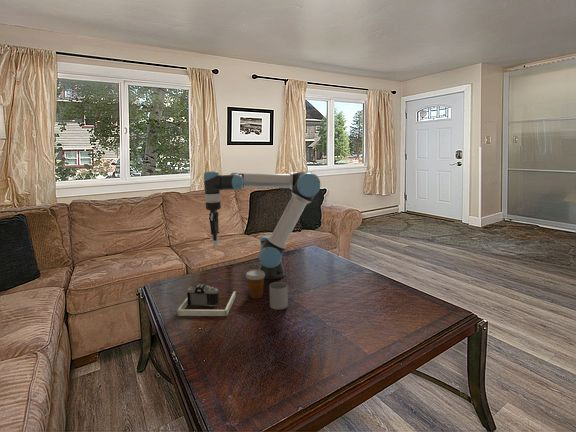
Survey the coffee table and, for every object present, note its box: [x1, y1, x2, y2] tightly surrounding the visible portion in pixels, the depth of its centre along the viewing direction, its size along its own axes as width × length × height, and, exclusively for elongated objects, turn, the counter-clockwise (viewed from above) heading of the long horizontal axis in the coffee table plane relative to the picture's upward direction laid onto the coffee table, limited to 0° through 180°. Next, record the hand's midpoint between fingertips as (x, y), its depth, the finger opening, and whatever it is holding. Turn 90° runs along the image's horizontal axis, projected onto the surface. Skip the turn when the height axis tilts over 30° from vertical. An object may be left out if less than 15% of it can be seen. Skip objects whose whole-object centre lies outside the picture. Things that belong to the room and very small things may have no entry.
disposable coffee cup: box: [245, 269, 265, 299], centre depth 173 cm, size 10×10×12 cm
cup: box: [268, 281, 289, 310], centre depth 162 cm, size 8×8×10 cm
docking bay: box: [176, 291, 237, 317], centre depth 164 cm, size 22×21×2 cm
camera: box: [186, 283, 220, 307], centre depth 166 cm, size 16×9×10 cm, turn 81°
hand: (215, 245), depth 184 cm, fingers closed
